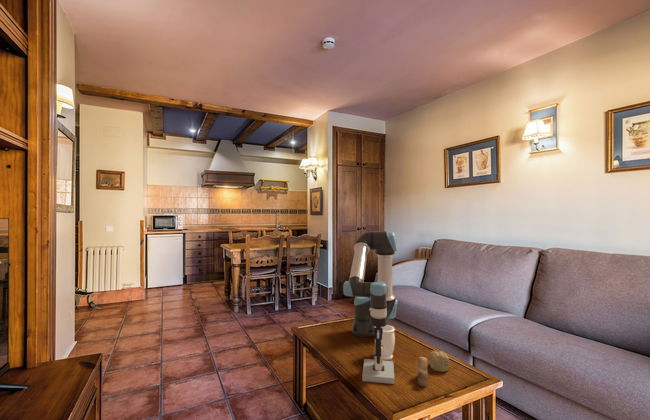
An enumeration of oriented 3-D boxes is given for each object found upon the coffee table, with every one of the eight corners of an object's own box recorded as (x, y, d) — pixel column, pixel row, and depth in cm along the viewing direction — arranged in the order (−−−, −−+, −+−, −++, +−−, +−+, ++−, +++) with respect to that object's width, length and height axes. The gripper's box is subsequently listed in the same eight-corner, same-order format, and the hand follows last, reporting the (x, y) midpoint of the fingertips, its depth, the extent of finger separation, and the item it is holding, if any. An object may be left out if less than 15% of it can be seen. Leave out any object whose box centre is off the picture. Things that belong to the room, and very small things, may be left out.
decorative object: (428, 370, 152) (421, 357, 149) (441, 356, 155) (434, 342, 152) (443, 381, 144) (436, 367, 141) (456, 366, 147) (450, 351, 144)
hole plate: (364, 363, 152) (364, 358, 152) (393, 366, 149) (393, 361, 149) (362, 380, 136) (362, 375, 136) (394, 384, 133) (394, 378, 133)
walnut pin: (416, 381, 135) (416, 370, 135) (425, 381, 135) (425, 370, 135) (419, 386, 131) (420, 375, 131) (428, 386, 131) (429, 375, 131)
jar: (395, 362, 153) (395, 332, 154) (374, 360, 155) (374, 330, 156) (394, 353, 164) (394, 324, 164) (375, 351, 166) (375, 323, 166)
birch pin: (374, 370, 145) (374, 345, 145) (382, 371, 144) (382, 346, 144) (374, 375, 141) (374, 349, 141) (382, 376, 140) (382, 349, 140)
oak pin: (417, 373, 142) (417, 356, 142) (426, 374, 141) (426, 357, 141) (418, 378, 138) (418, 360, 138) (428, 379, 137) (427, 361, 137)
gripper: (371, 309, 153) (371, 355, 153) (369, 322, 134) (369, 375, 133) (386, 310, 152) (386, 356, 152) (386, 324, 133) (386, 377, 132)
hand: (378, 365), depth 142 cm, fingers open, 7 cm apart
